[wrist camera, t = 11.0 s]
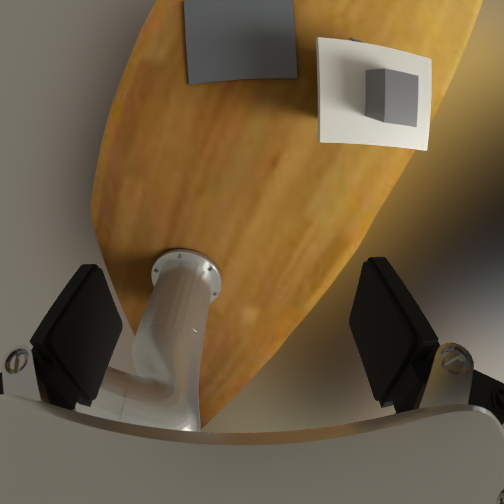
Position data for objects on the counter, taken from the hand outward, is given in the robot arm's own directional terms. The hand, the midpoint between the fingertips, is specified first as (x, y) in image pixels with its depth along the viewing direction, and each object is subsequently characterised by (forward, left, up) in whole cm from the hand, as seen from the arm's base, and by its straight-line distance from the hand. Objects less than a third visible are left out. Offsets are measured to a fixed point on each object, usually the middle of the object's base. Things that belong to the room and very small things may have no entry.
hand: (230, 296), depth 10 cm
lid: (+7, -14, -21) cm, 26 cm away
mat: (+15, 0, -31) cm, 34 cm away
